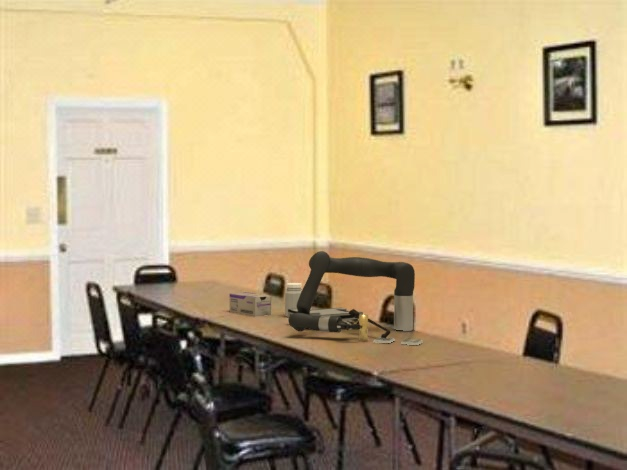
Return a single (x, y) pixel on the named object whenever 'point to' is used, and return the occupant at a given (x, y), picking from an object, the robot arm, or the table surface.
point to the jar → (292, 296)
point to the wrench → (356, 315)
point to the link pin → (363, 327)
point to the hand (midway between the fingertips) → (363, 325)
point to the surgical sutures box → (250, 304)
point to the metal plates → (406, 341)
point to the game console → (329, 313)
